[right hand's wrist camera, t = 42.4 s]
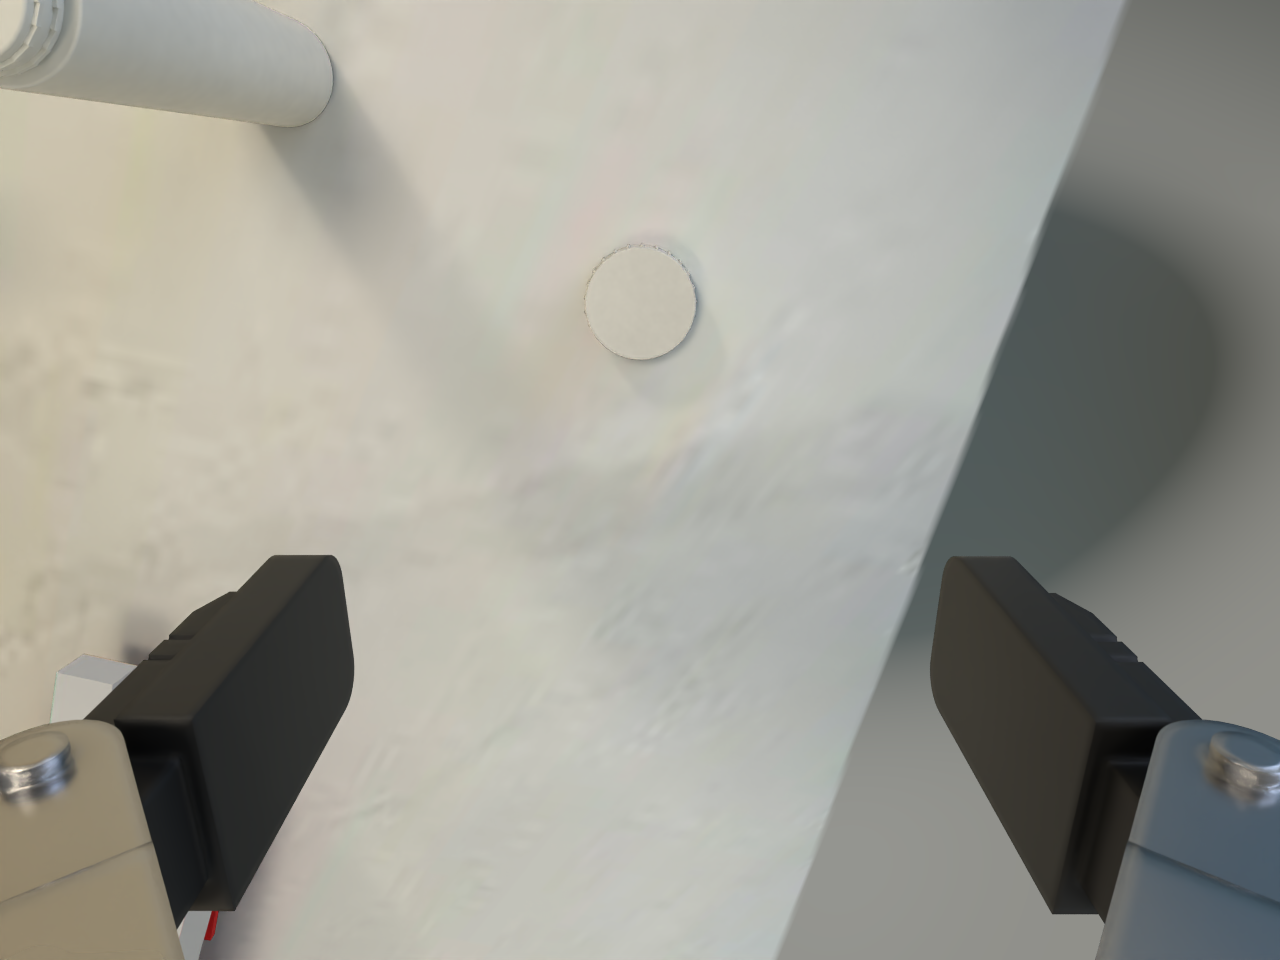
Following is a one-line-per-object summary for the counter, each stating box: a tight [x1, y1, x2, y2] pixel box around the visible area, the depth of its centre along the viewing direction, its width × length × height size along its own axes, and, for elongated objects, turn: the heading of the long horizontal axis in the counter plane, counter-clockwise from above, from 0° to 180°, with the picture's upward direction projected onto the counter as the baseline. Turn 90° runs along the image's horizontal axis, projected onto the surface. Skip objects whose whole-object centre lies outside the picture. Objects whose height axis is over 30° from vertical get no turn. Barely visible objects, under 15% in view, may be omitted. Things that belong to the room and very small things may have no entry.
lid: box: [584, 243, 697, 360], centre depth 38 cm, size 5×5×2 cm
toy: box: [50, 654, 219, 960], centre depth 45 cm, size 12×13×30 cm
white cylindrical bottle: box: [0, 0, 333, 127], centre depth 27 cm, size 4×4×19 cm
